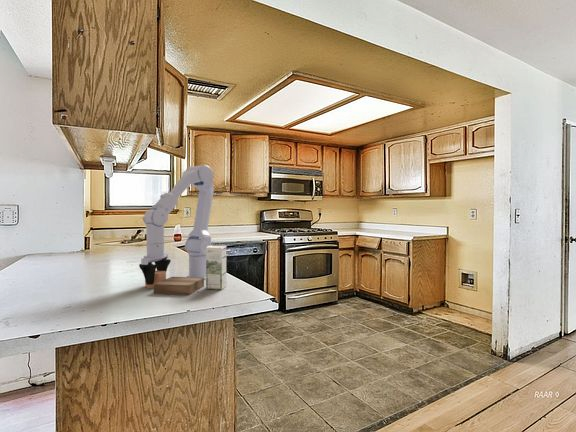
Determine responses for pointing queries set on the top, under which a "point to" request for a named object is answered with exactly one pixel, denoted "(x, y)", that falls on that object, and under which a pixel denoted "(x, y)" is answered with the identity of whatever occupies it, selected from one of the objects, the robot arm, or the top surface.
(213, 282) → the syrup box
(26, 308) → the top surface
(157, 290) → the walnut base
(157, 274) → the cube
